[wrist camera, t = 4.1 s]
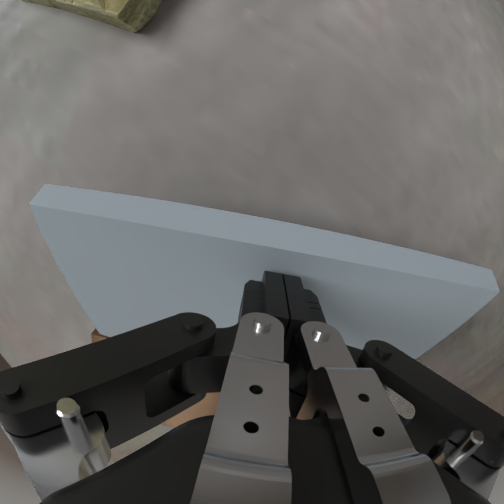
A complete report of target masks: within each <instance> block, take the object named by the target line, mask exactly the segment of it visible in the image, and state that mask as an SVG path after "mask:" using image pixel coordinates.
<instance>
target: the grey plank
mask: <svg viewBox="0 0 504 504" xmlns="http://www.w3.org/2000/svg"><path fill="white" fill-rule="evenodd" d="M29 206H30V209H31V211H32V213H33V216H34V218H35V220H36V222H37V225H38V227H39V229H40V231H41V233H42V235H43V237H44V239H45V241H46V243H47V245H48V247H49V249H50V251H51V253H52V255H53V257H54V259H55V261H56V263H57V265H58V267H59V268H60V270H61V272H62V274H63V276H64V277H65V279H66V281H67V283H68V284H69V286H70V288H71V290H72V291H73V293H74V295H75V296H76V298H77V300H78V301H79V303H80V304H81V306H82V308H83V309H84V311H85V312H86V314H87V315H88V317H89V319H90V320H91V322H92V323H93V325H94V326H95V328H96V329H97V331H98V332H99V333H100V334H102V335H105V336H108V337H113V336H116V335H119V334H122V333H125V332H127V331H130V330H133V329H136V328H139V327H142V326H145V325H148V324H151V323H154V322H156V321H159V320H162V319H165V318H168V317H171V316H174V315H176V314H179V313H184V312H193V313H199V314H202V315H205V316H207V317H209V318H210V319H211V320H213V322H214V323H215V324H216V328H226V327H231V326H234V325H236V324H237V323H238V316H239V311H240V305H241V300H242V295H243V290H244V285H245V284H246V283H247V282H248V281H249V280H255V281H261V282H262V277H263V273H264V271H270V272H276V273H281V274H287V275H293V276H298V277H300V278H301V281H302V284H303V288H304V289H308V290H311V291H312V292H313V293H314V294H315V295H316V296H317V297H318V300H319V303H320V306H321V308H322V311H323V314H324V317H325V320H326V323H327V324H329V325H331V326H332V327H334V328H335V329H337V330H338V331H339V333H340V334H341V336H342V338H343V340H344V342H345V344H346V345H348V346H351V347H355V348H358V349H361V350H363V348H364V346H365V344H366V343H367V342H368V341H370V340H381V341H384V342H387V343H389V344H391V345H393V346H394V347H396V348H398V349H399V350H401V351H402V352H404V353H405V354H407V355H408V356H410V357H411V358H413V359H416V358H417V357H419V356H420V355H422V354H423V353H425V352H426V351H428V350H429V349H430V348H432V347H433V346H435V345H436V344H437V343H439V342H440V341H441V340H443V339H444V338H445V337H447V336H448V335H449V334H451V333H452V332H453V331H455V330H456V329H457V328H458V327H460V326H461V325H462V324H463V323H465V322H466V321H467V320H468V319H469V318H471V317H472V316H473V315H474V314H475V313H477V312H478V311H479V310H480V309H481V308H482V307H484V306H485V305H486V304H487V303H488V302H489V301H490V300H491V299H492V298H494V297H495V296H496V295H497V294H498V293H499V292H500V291H499V288H498V285H497V283H496V280H495V277H494V274H493V272H492V270H491V269H487V268H483V267H480V266H476V265H472V264H468V263H464V262H461V261H457V260H453V259H449V258H445V257H441V256H437V255H433V254H429V253H425V252H421V251H416V250H412V249H408V248H404V247H400V246H395V245H391V244H387V243H382V242H378V241H373V240H369V239H364V238H360V237H355V236H351V235H346V234H342V233H337V232H332V231H327V230H323V229H318V228H313V227H308V226H303V225H298V224H293V223H288V222H283V221H278V220H273V219H267V218H262V217H257V216H252V215H246V214H241V213H235V212H230V211H224V210H218V209H213V208H207V207H201V206H195V205H189V204H183V203H177V202H171V201H165V200H158V199H152V198H145V197H139V196H132V195H125V194H118V193H111V192H104V191H97V190H89V189H82V188H74V187H66V186H58V185H49V184H44V186H43V187H42V188H41V189H40V190H39V192H38V193H37V194H36V195H35V197H34V198H33V199H32V200H31V202H30V203H29Z"/></svg>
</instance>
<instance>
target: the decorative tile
mask: <svg viewBox="0 0 504 504" xmlns="http://www.w3.org/2000/svg"><path fill="white" fill-rule="evenodd" d="M23 1H26V2H31V3H37V4H41V5H45V6H50V7H54V8H60V9H64V10H67V11H70V12H73V13H76V14H79V15H82V16H86V17H90V18H93V19H96V20H100V21H103V22H106V23H108V24H111V25H114V26H117V27H119V28H122V29H125V30H128V31H131V32H137V31H139V30H140V29H142V28H143V27H144V26H145V25H146V24H147V23H148V22H149V21H150V20H151V18H152V17H153V16H154V15H155V14H156V12H157V9H158V8H159V7H160V5H161V3H162V1H163V0H23Z"/></svg>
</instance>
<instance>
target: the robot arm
mask: <svg viewBox="0 0 504 504" xmlns="http://www.w3.org/2000/svg"><path fill="white" fill-rule="evenodd" d="M163 372H164V373H163ZM387 386H388V387H389V388H391V389H392V390H393V391H395V392H396V393H398V394H399V395H401V396H402V397H403V398H405V399H406V400H408V401H409V402H411V403H412V404H413V405H414V407H415V411H416V412H415V416H414V417H413V419H405V418H403V417H402V416H401V415H399V414H398V413H397V412H396V410H395V408H394V406H393V404H392V402H391V400H390V399H389V397H388V395H387V393H386V391H385V389H386V387H387ZM215 392H221V393H220V396H219V400H218V404H217V408H216V412H215V415H208V416H203V417H199V418H195V419H192V420H189V421H187V422H185V423H183V424H181V425H179V426H177V427H175V428H174V429H172V430H171V431H169V432H167V433H166V434H164V435H162V436H161V437H159V438H157V439H156V440H154V441H152V442H151V443H149V444H147V445H146V446H144V447H142V448H141V449H139V450H137V451H135V452H134V453H132V454H130V455H128V456H126V457H125V458H123V459H121V460H119V461H117V462H115V463H114V464H112V465H110V466H108V467H106V468H104V467H105V466H106V465H107V464H108V463H109V461H110V458H111V449H112V448H114V447H116V446H118V445H120V444H122V443H124V442H126V441H128V440H130V439H132V438H134V437H136V436H138V435H140V434H142V433H144V432H146V431H148V430H150V429H152V428H153V427H155V426H157V425H159V424H161V423H163V422H165V421H166V420H168V419H170V418H172V417H174V416H175V415H177V414H179V413H181V412H183V411H184V410H186V409H188V408H189V407H191V406H193V405H195V404H196V403H198V402H200V401H201V400H203V399H204V398H205V396H206V394H207V393H215ZM0 425H1V427H2V428H3V430H4V432H5V433H6V435H7V436H8V438H9V439H10V441H11V442H12V444H13V445H14V447H15V449H16V451H17V453H18V456H19V458H20V460H21V462H22V464H23V467H24V469H25V471H26V473H27V474H28V477H29V479H30V481H31V482H32V485H33V486H34V488H35V490H36V492H37V494H38V496H39V497H40V499H41V501H42V502H41V503H40V504H491V503H490V502H489V501H488V498H489V496H490V494H491V491H492V489H493V486H494V483H495V481H496V478H497V475H498V472H499V470H500V469H501V468H502V467H503V466H504V417H503V416H502V415H500V414H499V413H497V412H495V411H494V410H492V409H491V408H489V407H488V406H486V405H485V404H483V403H481V402H480V401H478V400H477V399H475V398H474V397H472V396H471V395H469V394H467V393H466V392H464V391H463V390H461V389H460V388H458V387H457V386H455V385H453V384H452V383H450V382H449V381H447V380H446V379H444V378H443V377H441V376H439V375H438V374H436V373H435V372H433V371H432V370H430V369H429V368H427V367H425V366H424V365H422V364H421V363H419V362H418V361H416V360H415V359H413V358H411V357H410V356H408V355H407V354H405V353H404V352H402V351H401V350H399V349H398V348H396V347H394V346H393V345H391V344H389V343H387V342H384V341H381V340H370V341H368V342H367V343H366V344H365V346H364V348H363V350H361V349H358V348H355V347H351V346H348V345H346V344H345V342H344V340H343V338H342V336H341V334H340V333H339V331H338V330H337V329H335V328H334V327H332V326H331V325H329V324H327V323H326V320H325V317H324V314H323V311H322V308H321V306H320V303H319V300H318V297H317V296H316V295H315V294H314V293H313V292H312V291H311V290H308V289H304V288H303V284H302V281H301V278H300V277H298V276H293V275H287V274H281V273H276V272H270V271H264V273H263V277H262V282H261V281H255V280H249V281H248V282H247V283H246V284H245V285H244V290H243V295H242V300H241V305H240V311H239V316H238V323H237V324H236V325H234V326H231V327H226V328H216V324H215V323H214V322H213V320H211V319H210V318H209V317H207V316H205V315H202V314H199V313H193V312H184V313H179V314H176V315H174V316H171V317H168V318H165V319H162V320H159V321H156V322H154V323H151V324H148V325H145V326H142V327H139V328H136V329H133V330H130V331H127V332H125V333H122V334H119V335H116V336H113V337H110V338H107V339H104V340H101V341H98V342H94V343H91V344H88V345H85V346H82V347H79V348H76V349H73V350H70V351H66V352H63V353H60V354H57V355H54V356H50V357H47V358H44V359H41V360H37V361H34V362H31V363H27V364H24V365H21V366H17V367H14V368H11V369H7V370H4V371H1V372H0ZM103 468H104V469H103Z"/></svg>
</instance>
